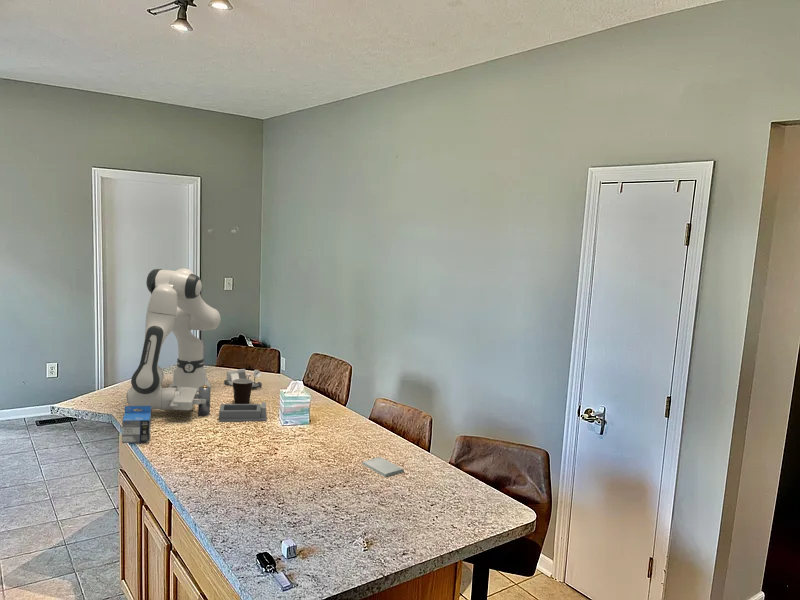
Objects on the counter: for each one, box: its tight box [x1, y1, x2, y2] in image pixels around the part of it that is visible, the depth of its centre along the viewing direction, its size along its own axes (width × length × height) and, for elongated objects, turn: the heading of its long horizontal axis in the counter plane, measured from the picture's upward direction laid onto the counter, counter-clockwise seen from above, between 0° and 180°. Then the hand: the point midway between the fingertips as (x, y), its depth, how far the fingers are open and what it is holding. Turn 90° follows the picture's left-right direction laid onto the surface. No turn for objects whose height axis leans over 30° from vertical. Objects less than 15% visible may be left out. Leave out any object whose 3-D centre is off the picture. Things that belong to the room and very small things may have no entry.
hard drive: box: [361, 456, 405, 478], centre depth 194 cm, size 2×8×12 cm
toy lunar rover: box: [223, 368, 263, 388], centre depth 281 cm, size 18×10×12 cm
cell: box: [197, 385, 212, 417], centre depth 235 cm, size 5×5×12 cm
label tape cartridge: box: [121, 405, 152, 444], centre depth 202 cm, size 9×4×12 cm, turn 105°
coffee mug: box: [232, 378, 254, 404], centre depth 256 cm, size 12×9×10 cm
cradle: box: [218, 401, 267, 423], centre depth 236 cm, size 12×18×5 cm, turn 104°
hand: (206, 398), depth 236 cm, fingers closed on cell, 5 cm apart
